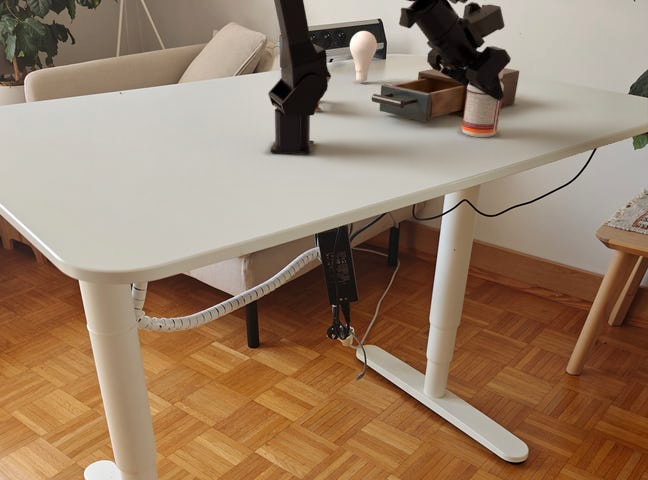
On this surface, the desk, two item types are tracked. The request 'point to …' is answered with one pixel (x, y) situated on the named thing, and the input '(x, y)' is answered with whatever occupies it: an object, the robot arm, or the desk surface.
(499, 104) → the pill bottle
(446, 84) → the drawer
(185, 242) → the desk surface
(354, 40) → the lightbulb
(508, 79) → the cabinet
